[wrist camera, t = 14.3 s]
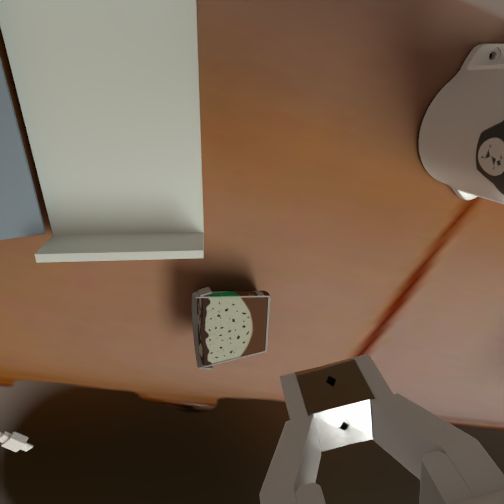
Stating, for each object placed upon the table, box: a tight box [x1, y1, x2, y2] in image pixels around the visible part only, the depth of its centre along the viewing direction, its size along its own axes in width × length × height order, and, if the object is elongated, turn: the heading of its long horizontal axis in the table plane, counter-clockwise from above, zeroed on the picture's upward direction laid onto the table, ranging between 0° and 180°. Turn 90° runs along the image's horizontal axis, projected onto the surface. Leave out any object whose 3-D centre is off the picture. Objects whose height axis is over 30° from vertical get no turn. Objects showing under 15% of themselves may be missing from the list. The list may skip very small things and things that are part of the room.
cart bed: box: [0, 0, 204, 262], centre depth 35 cm, size 18×28×7 cm, turn 178°
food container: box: [192, 287, 270, 369], centre depth 49 cm, size 12×6×10 cm
